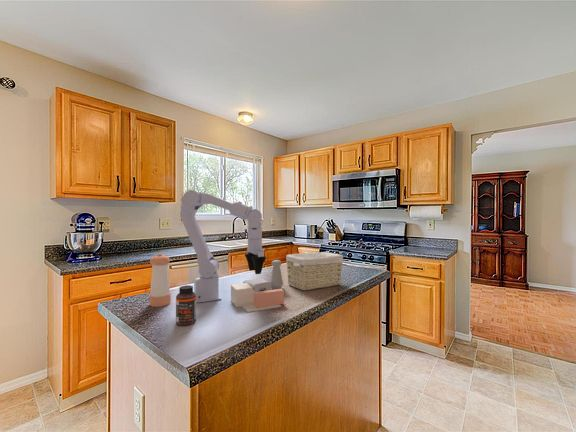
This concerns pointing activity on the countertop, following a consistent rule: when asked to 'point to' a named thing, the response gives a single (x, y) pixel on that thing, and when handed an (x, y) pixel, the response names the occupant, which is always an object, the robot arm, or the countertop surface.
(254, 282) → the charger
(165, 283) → the salt shaker
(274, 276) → the salt shaker
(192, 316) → the supplement bottle
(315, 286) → the storage basket
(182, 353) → the countertop surface
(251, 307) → the mat
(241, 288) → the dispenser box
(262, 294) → the pink rectangular block
